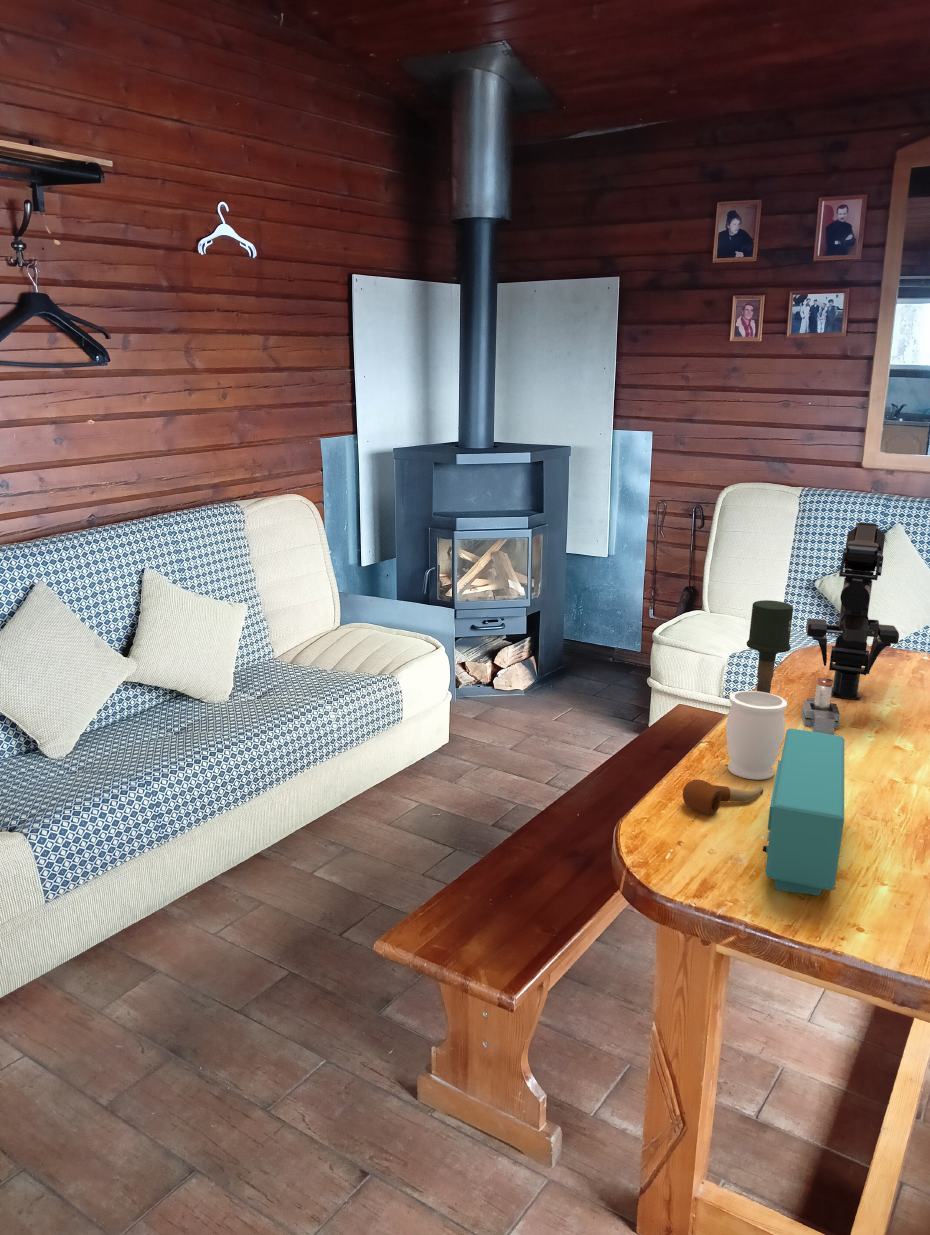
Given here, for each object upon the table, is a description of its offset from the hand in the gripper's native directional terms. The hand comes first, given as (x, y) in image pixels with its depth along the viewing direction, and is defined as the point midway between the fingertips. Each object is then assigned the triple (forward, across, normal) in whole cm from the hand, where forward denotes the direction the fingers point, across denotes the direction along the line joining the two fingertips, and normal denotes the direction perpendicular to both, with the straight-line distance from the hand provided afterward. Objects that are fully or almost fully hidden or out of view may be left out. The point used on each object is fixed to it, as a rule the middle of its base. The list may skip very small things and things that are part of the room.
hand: (846, 667), depth 211 cm
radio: (+10, -13, -70) cm, 72 cm away
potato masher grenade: (+12, -18, -23) cm, 32 cm away
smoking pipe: (+11, -25, -55) cm, 62 cm away
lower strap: (+12, -5, -1) cm, 13 cm away
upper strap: (+12, -5, -7) cm, 15 cm away
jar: (+11, -20, -39) cm, 45 cm away
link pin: (+12, -5, -5) cm, 14 cm away
